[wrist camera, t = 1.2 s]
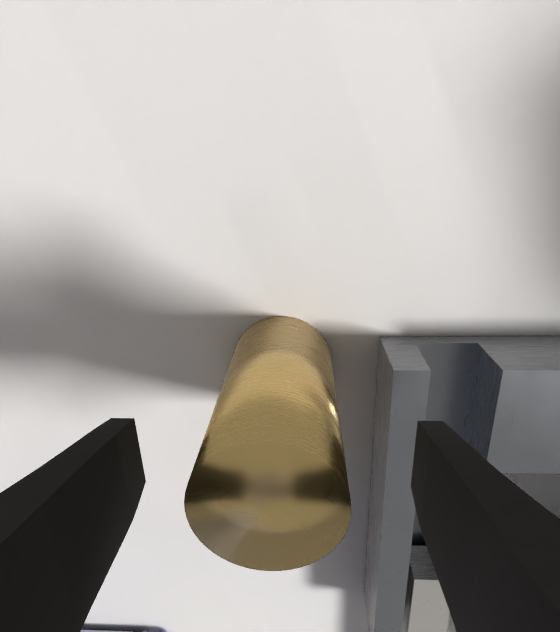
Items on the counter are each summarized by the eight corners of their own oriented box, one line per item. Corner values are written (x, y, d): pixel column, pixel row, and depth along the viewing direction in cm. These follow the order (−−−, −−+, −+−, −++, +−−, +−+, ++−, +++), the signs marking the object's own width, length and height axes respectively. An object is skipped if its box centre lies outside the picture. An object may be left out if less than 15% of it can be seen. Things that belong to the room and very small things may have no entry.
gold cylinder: (237, 403, 16) (193, 568, 10) (230, 316, 15) (175, 440, 9) (330, 403, 16) (348, 573, 10) (332, 316, 15) (354, 442, 8)
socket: (364, 592, 20) (372, 651, 17) (379, 336, 15) (393, 370, 13) (657, 600, 19) (706, 663, 17) (768, 334, 14) (860, 370, 12)
